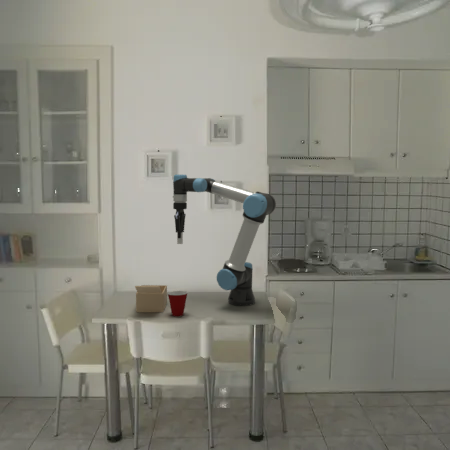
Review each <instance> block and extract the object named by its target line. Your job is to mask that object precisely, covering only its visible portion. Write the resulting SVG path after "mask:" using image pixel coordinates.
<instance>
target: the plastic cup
mask: <svg viewBox="0 0 450 450" xmlns="http://www.w3.org/2000/svg"><path fill="white" fill-rule="evenodd" d="M188 294H189V291H186V290H173V291H167V298H168V300H169V307H170V311H171V313H170V314H171V315H172V316H173V317H182V316H184V314H185V309H186V302H187V297H188Z"/></svg>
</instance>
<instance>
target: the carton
mask: <svg viewBox="0 0 450 450" xmlns="http://www.w3.org/2000/svg"><path fill="white" fill-rule="evenodd" d="M140 286H159V287H160V289H161V293H138V292H137V291H136V293H135V300H136V301H135V312H136V313H164V312H165V309H166V306H167V305H168V304H167V303H168V294H167V292H168V285H167V284H166V285H162V284H161V285H160V284H159V285H157V284H156V285H152V284H151V285H150V284H148V285H147V284H146V285H145V284H141V285H140Z"/></svg>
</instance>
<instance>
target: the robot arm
mask: <svg viewBox="0 0 450 450" xmlns="http://www.w3.org/2000/svg"><path fill="white" fill-rule="evenodd" d="M172 185H173V188H172V189H173V196H172V198H173V200H172V202H173V204H172V205H173V206H172V207H173V210H175V214H174V216H173V217H174V224H175V226H174V227H175V233H177V234H176V236H177V237H176V239H177V240H176V241H177V242H176V244H177V245H183V243H184V242H183V241H184V240H183V235H184V234H183V233H185V225H186V224H185V223H186V213H185V210H187V209H188V208H187V207H188V206H187V205H188V204H187V202H188V195H187V194H188V192H191V193H204V192H205V193H206V192H207V193H210V194H214V195H215V196H219V197H222V198H225V199H228V200H231V201H234V202H238V203H240V204H242V209H243V213H242V218H243V221H242V224H241V226H240V229H239V232H238V235H237V237H236V240H235V241H234V245H233V247H232V251H231V253H230V256H229V259H227V260H225V261H224V264H223V267H222V268H221V269H220V270H219V271H217V274H216V282H217V284H218V286H219V287H220V288H221V289H222V290H225V291H229V295H228V297H227V298H228V299H227V303H229V304H230V305H234V306H241V305H244V306H251V305H250V304H252V305H254V304H255V303H256V298H255V295H254V291H253V264H252V263H251V262H247V258H248V256H249V254H250V251H251V248H252V245H253V243H254V240H255V238H256V236H257V232H258V231H259V227H260V225H263V224H264V222H265V220H266V218H267V216H268V215H271V214H272V213H274V211H275V210H276V208H277V207H276V206H277V202H276V199H275V197H274V196H273V195H271V194H270V193H266V192H261V191H255V192H254V191H250V190H247V189H244V188H241V187H237V186H235V185H231V184H227V183H224V182H222V181H218V180H216V179H214V178H211V177H209V178H206V177H205V178H202V177H192V178H190V177H188V176H187V174H174V175H173V182H172ZM253 303H254V304H253Z"/></svg>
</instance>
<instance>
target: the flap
mask: <svg viewBox="0 0 450 450" xmlns="http://www.w3.org/2000/svg"><path fill="white" fill-rule="evenodd" d="M134 288H135V290H136V293H137V292H138V293H161V289H160V287H159V286H141V285H134Z"/></svg>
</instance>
